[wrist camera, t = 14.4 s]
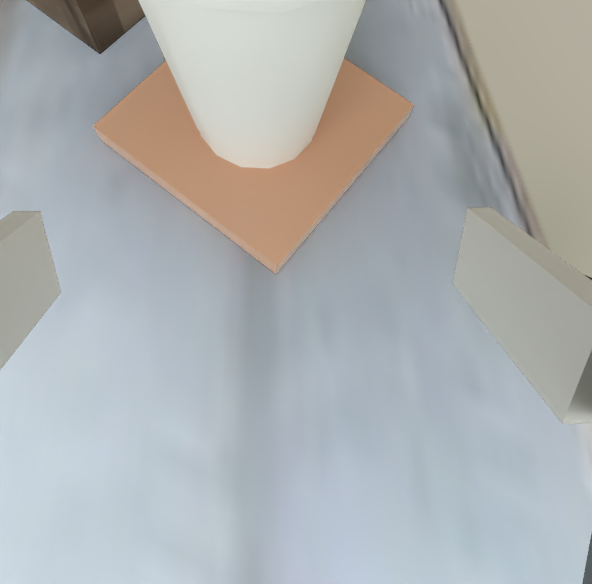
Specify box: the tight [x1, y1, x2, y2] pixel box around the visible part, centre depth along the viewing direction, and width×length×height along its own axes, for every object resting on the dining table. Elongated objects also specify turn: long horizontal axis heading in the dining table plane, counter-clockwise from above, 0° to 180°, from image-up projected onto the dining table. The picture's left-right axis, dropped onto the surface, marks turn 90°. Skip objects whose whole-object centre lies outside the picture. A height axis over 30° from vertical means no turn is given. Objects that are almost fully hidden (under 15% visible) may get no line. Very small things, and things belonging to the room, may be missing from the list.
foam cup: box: [138, 0, 366, 169], centre depth 18 cm, size 10×9×13 cm
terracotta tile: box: [93, 58, 414, 274], centre depth 25 cm, size 12×12×1 cm
